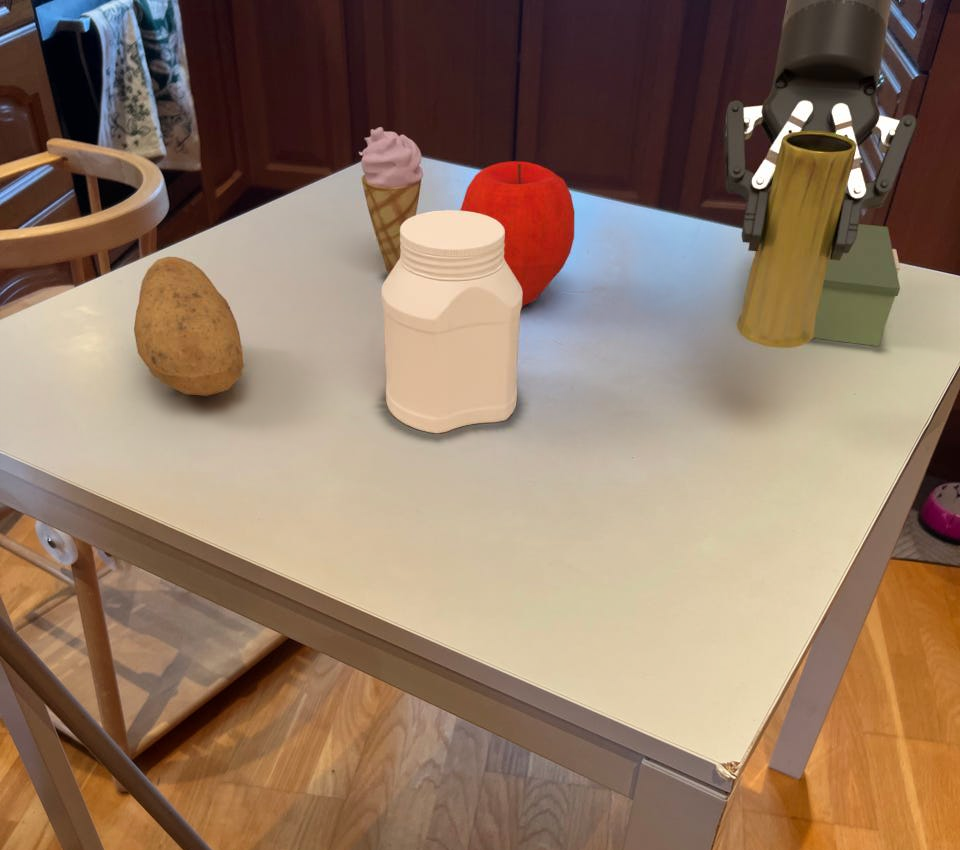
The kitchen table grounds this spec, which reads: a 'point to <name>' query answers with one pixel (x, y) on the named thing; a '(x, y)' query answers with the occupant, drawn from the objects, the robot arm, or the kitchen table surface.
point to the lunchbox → (859, 290)
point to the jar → (451, 323)
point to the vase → (796, 238)
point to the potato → (187, 329)
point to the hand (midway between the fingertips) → (795, 250)
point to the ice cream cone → (390, 187)
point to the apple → (526, 219)
